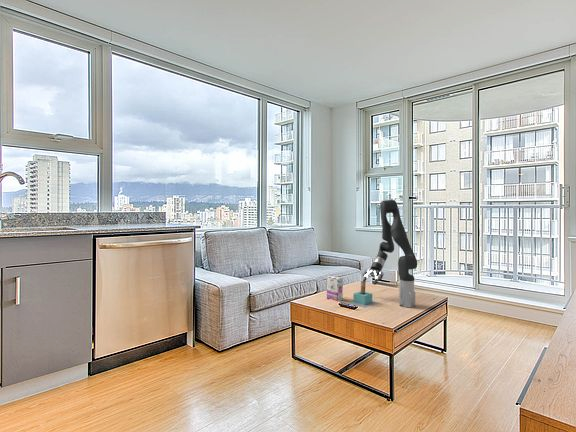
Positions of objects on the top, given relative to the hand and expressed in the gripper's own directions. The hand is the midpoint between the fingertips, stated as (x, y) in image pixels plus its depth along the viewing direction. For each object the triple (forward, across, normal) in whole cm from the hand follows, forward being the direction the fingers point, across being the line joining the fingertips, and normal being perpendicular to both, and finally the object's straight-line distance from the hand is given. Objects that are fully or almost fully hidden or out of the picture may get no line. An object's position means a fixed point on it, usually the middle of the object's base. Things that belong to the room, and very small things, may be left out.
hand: (368, 283), depth 234 cm
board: (+16, +3, +1) cm, 16 cm away
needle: (+14, +2, +1) cm, 15 cm away
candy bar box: (+21, -16, -3) cm, 27 cm away
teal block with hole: (+14, +2, +1) cm, 15 cm away
